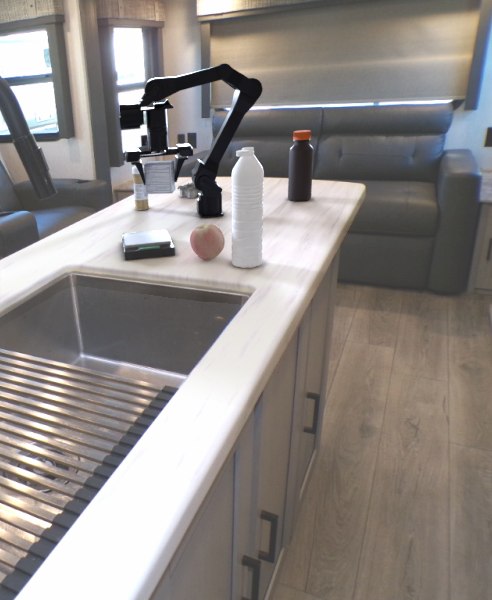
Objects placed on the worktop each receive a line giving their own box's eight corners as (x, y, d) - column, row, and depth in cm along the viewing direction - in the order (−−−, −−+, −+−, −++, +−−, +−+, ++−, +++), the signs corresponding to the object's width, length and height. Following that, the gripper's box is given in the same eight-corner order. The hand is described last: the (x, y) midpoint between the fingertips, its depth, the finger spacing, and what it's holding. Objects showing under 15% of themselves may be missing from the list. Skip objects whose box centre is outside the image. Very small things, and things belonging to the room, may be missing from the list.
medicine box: (175, 190, 156) (174, 160, 153) (172, 194, 152) (170, 163, 149) (149, 190, 159) (147, 161, 156) (145, 194, 155) (143, 164, 152)
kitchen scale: (167, 238, 141) (167, 228, 140) (175, 255, 128) (174, 244, 127) (122, 242, 141) (121, 233, 140) (124, 260, 128) (124, 249, 127)
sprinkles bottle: (142, 206, 175) (139, 164, 170) (152, 208, 172) (149, 165, 166) (132, 209, 172) (128, 167, 167) (141, 211, 169) (138, 168, 164)
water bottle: (235, 257, 123) (235, 145, 113) (264, 259, 120) (267, 144, 110) (225, 270, 116) (224, 152, 106) (256, 273, 113) (258, 151, 103)
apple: (202, 250, 129) (201, 218, 126) (230, 255, 125) (230, 221, 121) (184, 260, 124) (182, 227, 121) (213, 265, 119) (213, 231, 116)
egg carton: (191, 199, 178) (191, 186, 176) (175, 196, 184) (175, 184, 182) (213, 192, 184) (213, 180, 182) (197, 189, 189) (196, 178, 188)
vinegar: (313, 196, 166) (317, 129, 158) (307, 202, 161) (311, 132, 153) (291, 195, 169) (293, 129, 161) (285, 201, 164) (287, 133, 156)
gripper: (186, 121, 156) (188, 175, 162) (122, 127, 156) (126, 181, 162) (192, 124, 146) (194, 182, 152) (124, 131, 146) (128, 188, 152)
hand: (160, 183), depth 155 cm, fingers closed on medicine box, 9 cm apart
